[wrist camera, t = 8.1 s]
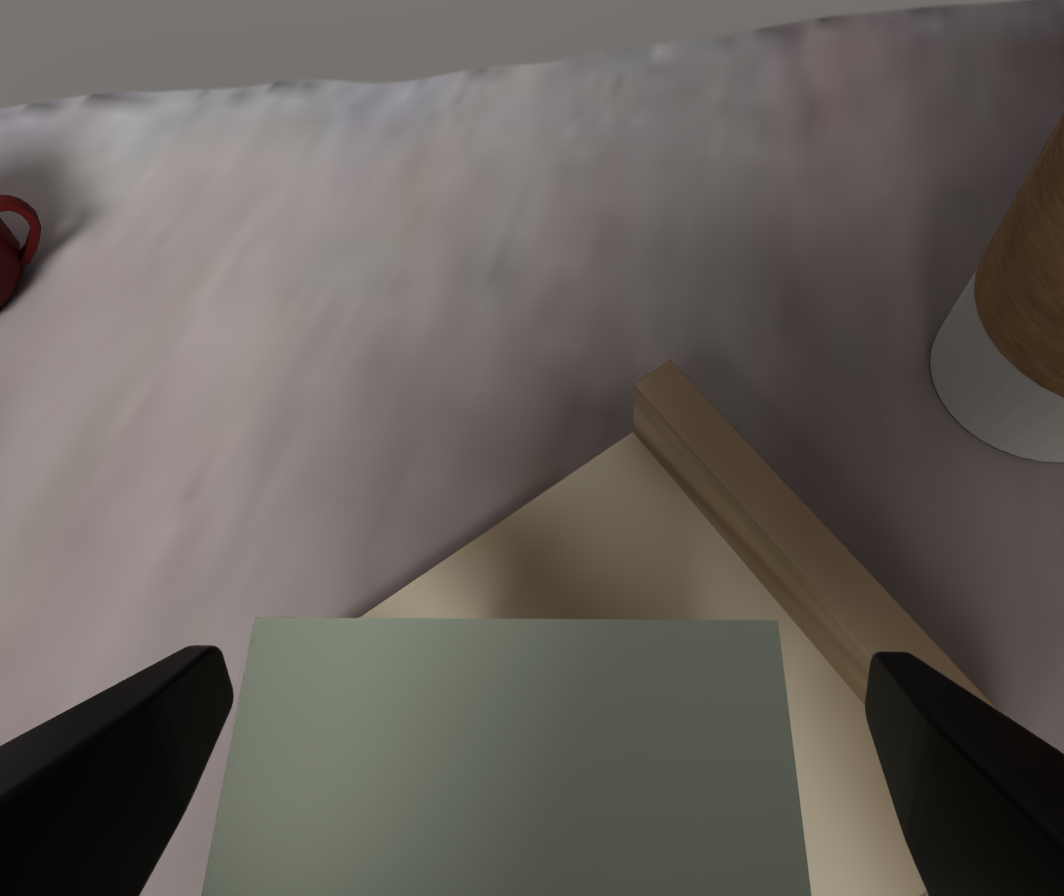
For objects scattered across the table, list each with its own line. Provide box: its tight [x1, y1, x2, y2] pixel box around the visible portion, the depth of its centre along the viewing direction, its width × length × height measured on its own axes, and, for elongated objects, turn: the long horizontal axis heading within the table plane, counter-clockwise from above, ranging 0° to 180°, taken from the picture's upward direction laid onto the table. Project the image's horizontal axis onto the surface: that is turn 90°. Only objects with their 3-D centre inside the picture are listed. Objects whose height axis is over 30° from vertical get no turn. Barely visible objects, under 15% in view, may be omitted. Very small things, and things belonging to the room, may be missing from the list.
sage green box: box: [202, 617, 812, 896], centre depth 12 cm, size 4×6×11 cm, turn 89°
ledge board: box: [360, 360, 998, 896], centre depth 16 cm, size 14×13×4 cm
